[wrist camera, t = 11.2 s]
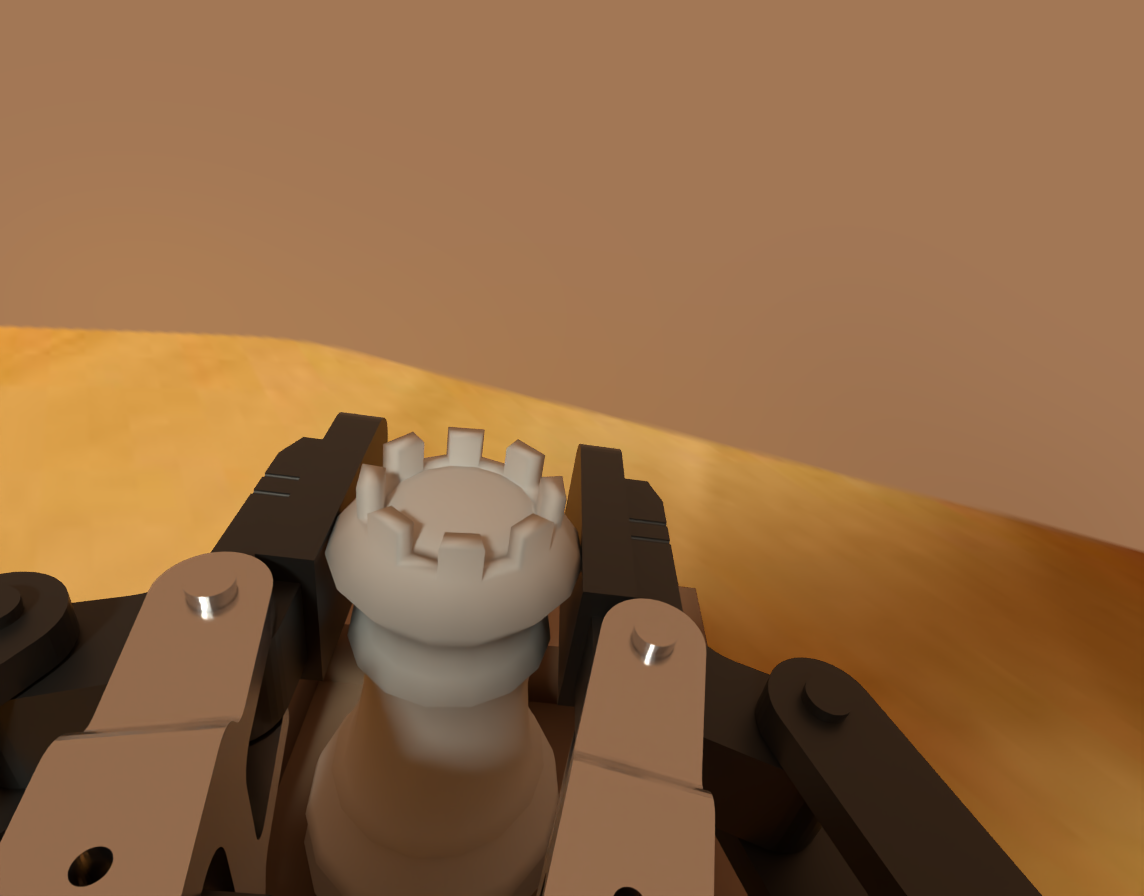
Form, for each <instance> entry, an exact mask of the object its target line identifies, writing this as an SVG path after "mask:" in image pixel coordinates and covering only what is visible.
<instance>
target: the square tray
mask: <svg viewBox="0 0 1144 896" xmlns="http://www.w3.org/2000/svg"><path fill="white" fill-rule="evenodd" d="M678 587H679V586H678ZM679 592H680V598H681V603H682V608H683V612H684V613H685V614H686V615H687V616H688V617H690V618H691V619H692V621H693V622H694V623H695V624H696V625H697V627H698V628H699V629H700V631H701V633H702V635H703V637H704V640H705V644H706V645H707V641H706V636H705V631H704V626H703V622H702V617H701V612H700V607H699V603H698V598H697V593H696V588H688V587H679ZM353 606H354V604H353V603H352V606H351V608H350V611H349V613H348V616H347V619H346V621H345V624H344V627H343V629H342V632H341V635H340V637H339V640H338V643H337V645H336V648H335V651H334V653H333V656H332V658H331V661H330V664H329V666H328V669H327V672H326V674H325V677H324V680H323V681H315V680H305V679H300V680H299V682H298V684H297V687H296V689H295V692H294V694H293V697H292V699H291V701H290V704H289V706H288V711H289V724H288V730H287V736H286V742H285V748H284V754H283V760H282V766H281V772H280V778H279V784H278V790H277V796H276V802H275V808H274V814H273V820H272V826H271V832H270V838H269V844H268V851H267V860H266V889H265V894H267V895H272V896H317V895H316V894H315V892H314V887H313V883H312V878H311V873H310V868H309V863H308V859H307V854H306V849H305V844H304V840H305V836H306V831H307V826H308V823H307V818H306V809H307V805H308V800H309V796H310V791H311V787H312V782H313V777H314V773H315V768H316V764H317V762H318V760H319V757H320V755H321V753H322V751H323V750H324V748H325V747H326V745H327V744H328V742H329V741H330V740H331V738H332V737H333V735H334V734H335V732H336V731H337V729H338V728H339V726H340V725H341V723H342V722H343V720H344V719H345V717H346V716H347V715H348V714H349V713H351V712H352V711H353V709H354V708H355V706H356V705H357V703H358V702H359V700H360V697H361V692H362V687H363V682H364V672H363V671H362V670H361V669H360V668H359V667H358V666H357V663H356V660H355V657H354V654H353V651H352V648H351V645H350V642H349V639H348V636H347V634H348V630H349V625H350V620H351V616H352V611H353ZM559 612H560V605H559V606H558V607H557V608H555V609H554V610H553V611H552V612H550V613H549V614H548V619H549V628H550V637H551V639H550V642H549V644H548V647H547V649H546V651H545V654H544V656H543V659H542V661H541V663H540V666H539V668H538V669H537V670H536V671H535V672H534V673H533V674H531V675H530V676H529V679H528V707H529V709H530V710H531V712H532V714H534V716H535V718H536V720H537V722H538V724H539V726H540V727H541V729H542V731H543V733H544V735H545V737H546V739H547V740H548V742H549V744H550V746H551V748H552V750H553V753H554V758H555V763H556V773H557V783H558V794H560V790H561V785H562V781H563V777H564V772H565V768H566V763H567V759H568V755H569V750H570V746H571V742H572V738H573V734H574V731H575V707H571V706H561V705H557V698H558V655H559ZM707 646H708V645H707ZM537 891H538V888H537V889H536V890H535V891H534V893H533V894H532V895H531V896H536V895H537ZM714 896H748V895H747V893H746V891H745V889H744V888H743V886H742V884H741V882H740V880H739V878H738V876H737V875H736V873H735V871H734V869H733V867H732V865H731V864H730V862H729V860H728V858H727V856H726V854H725V853H724V851H723V849H722V847H721V845H720V843H719V842H718V840H717V838H716V836H715V855H714Z"/></svg>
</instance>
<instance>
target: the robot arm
mask: <svg viewBox="0 0 1144 896" xmlns="http://www.w3.org/2000/svg"><path fill="white" fill-rule="evenodd" d="M387 441H388V430H387V421H386V419H385V418H381V417H374V416H366V415H358V414H351V413H343V412H340V413H339V414H338V415H337V416H336V418H335V420H334V421H333V423H332V425H331V427H330V428H329V430H328V432H327V433H326V435H325V437H324V438H323V439H315V438H307V437H303V438H301V439H300V440H298V441H296V442H295V443H293V444H292V445H290V446H288V447H287V448H285V449H284V450H282V451H281V452H279V453H278V454H277V456H276V457H275V459H274V460H273V462H272V463H271V465H270V466H269V468H268V469H267V471H266V472H265V477H262V478H261V479H260V481H259V482H258V484H257V485H256V487H255V488H254V493H253V494H250V496H249V497H248V499H247V500H246V501H245V503H244V504H243V506H242V507H241V509H240V510H239V512H238V513H237V515H236V516H235V518H234V519H233V521H232V522H231V524H230V525H229V526H228V528H227V529H226V531H225V532H224V534H223V535H222V537H221V538H220V540H219V541H218V543H217V544H216V546H215V547H214V548H213V550H212V551H211V553H207V554H202V555H199V556H195V557H192V558H189V559H187V560H184V561H182V562H180V563H178V564H176V565H174V566H173V567H171V568H170V569H168V570H167V571H165V572H164V573H163V574H162V575H161V576H159V577H158V578H157V579H156V581H155V582H154V583H153V584H152V586H151V587H150V589H149V591H148V592H147V593H143V594H138V595H132V596H124V597H116V598H108V599H100V600H92V601H84V602H76V603H71V600H70V597H69V594H68V592H67V589H66V587H65V586H64V585H63V584H62V582H60V581H59V580H57V579H56V578H54V577H52V576H49V575H46V574H42V573H37V572H11V573H4V574H0V896H272V895H267V894H265V889H266V860H267V851H268V844H269V838H270V832H271V826H272V820H273V814H274V808H275V802H276V796H277V790H278V784H279V778H280V772H281V766H282V760H283V754H284V748H285V742H286V736H287V730H288V724H289V711H288V706H289V704H290V701H291V699H292V697H293V694H294V692H295V689H296V687H297V684H298V682H299V680H300V679H305V680H315V681H323V680H324V677H325V674H326V672H327V669H328V666H329V664H330V661H331V658H332V656H333V653H334V651H335V648H336V645H337V643H338V640H339V637H340V635H341V632H342V629H343V627H344V624H345V621H346V619H347V616H348V613H349V611H350V608H351V606H352V602H351V601H350V600H348V599H347V598H346V597H345V596H344V595H343V594H342V593H340V592H339V591H338V590H337V588H336V585H335V582H334V579H333V577H332V574H331V571H330V568H329V565H328V562H327V559H326V556H325V550H326V547H327V543H328V540H329V537H330V534H331V531H332V529H333V526H334V524H335V521H336V519H337V517H338V516H339V515H340V514H341V513H342V511H343V510H344V509H345V508H346V507H347V506H348V505H349V504H350V503H351V502H352V501H353V500H354V499H355V498H356V486H357V482H358V479H359V475H360V471H361V467H362V464H368V465H374V466H379V467H383V444H385V443H387ZM565 515H566V516H567V518H568V519H569V520H570V522H571V523H572V524H573V526H574V527H575V528H576V529H577V531H578V534H579V540H580V545H581V572H580V574H579V576H578V579H577V581H576V584H575V586H574V589H573V591H572V593H571V596H570V597H569V598H568V599H566V600H565V601H564V602H563V603H562V604H560V612H559V655H558V698H557V705H561V706H571V707H575V731H574V734H573V738H572V742H571V746H570V750H569V755H568V759H567V763H566V768H565V772H564V777H563V781H562V785H561V790H560V794H559V799H558V803H557V808H556V812H555V816H554V821H553V825H552V830H551V834H550V838H549V843H548V847H547V852H546V856H545V861H544V865H543V869H542V874H541V878H540V882H539V886H538V891H537V895H536V896H714V855H715V836H716V838H717V840H718V842H719V843H720V845H721V847H722V849H723V851H724V853H725V854H726V856H727V858H728V860H729V862H730V864H731V865H732V867H733V869H734V871H735V873H736V875H737V876H738V878H739V880H740V882H741V884H742V886H743V888H744V889H745V891H746V893H747V895H748V896H1042V895H1041V894H1040V893H1039V891H1038V890H1037V889H1036V888H1035V887H1034V886H1033V884H1032V883H1031V882H1030V881H1029V880H1028V879H1027V877H1026V876H1025V875H1024V874H1023V873H1022V872H1021V870H1020V869H1019V868H1018V867H1017V866H1016V865H1015V864H1014V862H1013V861H1012V860H1011V859H1010V858H1009V857H1008V855H1007V854H1006V853H1005V852H1004V851H1003V850H1002V848H1001V847H1000V846H999V845H998V844H997V843H996V841H995V840H994V839H993V838H992V837H991V836H990V834H989V833H988V832H987V831H986V830H985V829H984V827H983V826H982V825H981V824H980V823H979V822H978V820H977V819H976V818H975V817H974V816H973V815H972V813H971V812H970V811H969V810H968V809H967V808H966V806H965V805H964V804H963V803H962V802H961V801H960V799H959V798H958V797H957V796H956V795H955V794H954V792H953V791H952V790H951V789H950V788H949V787H948V785H947V784H946V783H945V782H944V781H943V780H942V779H941V777H940V776H939V775H938V774H937V773H936V772H935V770H934V769H933V768H932V767H931V766H930V765H929V763H928V762H927V761H926V760H925V759H924V758H923V756H922V755H921V754H920V753H919V752H918V751H917V749H916V748H915V747H914V746H913V745H912V744H911V742H910V741H909V740H908V739H907V738H906V737H905V735H904V734H903V733H902V732H901V731H900V730H899V728H898V727H897V726H896V725H895V724H894V723H893V721H892V720H891V719H890V718H889V717H888V716H887V714H886V713H885V712H884V711H883V710H882V709H881V707H880V706H879V705H878V704H877V703H876V702H875V700H874V699H873V698H872V697H871V696H870V695H869V693H868V692H867V691H866V690H865V689H864V688H863V687H862V686H861V685H860V684H859V683H858V682H857V681H856V680H855V679H853V678H852V677H851V676H850V675H848V674H847V673H845V672H844V671H842V670H840V669H839V668H837V667H835V666H833V665H831V664H828V663H826V662H823V661H820V660H816V659H811V658H792V659H788V660H785V661H783V662H781V663H780V664H778V665H777V666H776V667H775V668H774V669H773V670H772V672H771V674H770V675H769V674H766V673H764V672H761V671H758V670H756V669H753V668H750V667H748V666H745V665H743V664H740V663H737V662H735V661H732V660H730V659H728V658H726V657H724V656H722V655H720V654H718V653H717V652H715V651H714V650H712V649H711V648H709V647H708V646H707V645H706V644H705V640H704V637H703V635H702V633H701V631H700V629H699V628H698V627H697V625H696V624H695V623H694V622H693V621H692V619H691V618H690V617H688V616H687V615H686V614H685V613H684V612H683V608H682V603H681V598H680V592H679V587H678V582H677V576H676V571H675V565H674V560H673V555H672V549H671V545H670V544H669V541H670V539H669V533H668V528H667V527H666V517H665V512H664V506H663V501H662V500H661V499H660V497H659V496H658V495H657V494H656V492H655V491H654V490H653V488H652V487H651V486H650V484H649V483H648V482H647V481H639V480H632V479H625V478H624V469H623V460H622V452H621V450H620V449H614V448H606V447H599V446H591V445H583V444H579V446H578V449H577V453H576V458H575V463H574V469H573V474H572V479H571V484H570V490H569V495H568V500H567V506H566V511H565Z"/></svg>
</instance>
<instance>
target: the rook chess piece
mask: <svg viewBox="0 0 1144 896" xmlns="http://www.w3.org/2000/svg"><path fill="white" fill-rule="evenodd" d="M483 440H484V430H483V429H469V428H456V427H448V441H447V455H441V456H435V457H428V458H424V442H423V441H422V440H421V439H420V438H419V437H418V436H417V435H416V434H415V433H414V432H412V433H409V434H407V435H404V436H402V437H399V438H397V439H395V440H392V441H390V442H387V443H385V444H383V467H379V466H374V465H368V464H362V467H361V471H360V475H359V479H358V482H357V486H356V498H355V499H354V500H353V501H352V502H351V503H350V504H349V505H348V506H347V507H346V508H345V509H344V510H343V511H342V513H341V514H340V515H339V516H338V517H337V519H336V521H335V524H334V526H333V529H332V531H331V534H330V537H329V540H328V543H327V547H326V550H325V556H326V559H327V562H328V565H329V568H330V571H331V574H332V577H333V579H334V582H335V585H336V588H337V590H338V591H339V592H340V593H342V594H343V595H344V596H345V597H346V598H347V599H348V600H350V601H351V602H352V603H353V604H354V606H353V611H352V616H351V620H350V625H349V630H348V634H347V636H348V639H349V642H350V645H351V648H352V651H353V654H354V657H355V660H356V663H357V666H358V667H359V668H360V669H361V670H362V671H363V672H364V682H363V687H362V692H361V697H360V700H359V702H358V703H357V705H356V706H355V708H354V709H353V711H352V712H351V713H349V714H348V715H347V716H346V717H345V719H344V720H343V722H342V723H341V725H340V726H339V728H338V729H337V731H336V732H335V734H334V735H333V737H332V738H331V740H330V741H329V742H328V744H327V745H326V747H325V748H324V750H323V751H322V753H321V755H320V757H319V760H318V762H317V764H316V768H315V773H314V777H313V782H312V787H311V791H310V796H309V800H308V805H307V809H306V818H307V823H308V826H307V831H306V836H305V840H304V844H305V849H306V854H307V859H308V863H309V868H310V873H311V878H312V883H313V887H314V892H315V894H316V895H317V896H531V895H532V894H533V893H534V891H535V890H536V889H537V888H538V886H539V882H540V878H541V874H542V869H543V865H544V861H545V856H546V852H547V847H548V843H549V838H550V834H551V830H552V825H553V821H554V816H555V812H556V808H557V803H558V799H559V794H558V783H557V773H556V763H555V758H554V753H553V750H552V748H551V746H550V744H549V742H548V740H547V739H546V737H545V735H544V733H543V731H542V729H541V727H540V726H539V724H538V722H537V720H536V718H535V716H534V714H532V712H531V710H530V709H529V707H528V679H529V676H530V675H531V674H533V673H534V672H535V671H536V670H537V669H538V668H539V666H540V663H541V661H542V659H543V656H544V654H545V651H546V649H547V647H548V644H549V642H550V639H551V637H550V628H549V619H548V614H549V613H550V612H552V611H553V610H554V609H555V608H557V607H558V606H559V605H560V604H562V603H563V602H564V601H565V600H566V599H568V598H569V597H570V596H571V593H572V591H573V589H574V586H575V584H576V581H577V579H578V576H579V574H580V572H581V545H580V540H579V534H578V531H577V529H576V528H575V527H574V526H573V524H572V523H571V522H570V520H569V519H568V518H567V516H566V515H565V514H564V509H565V504H566V495H565V489H564V483H563V477H562V476H555V477H542V471H543V465H544V459H545V455H544V454H542V453H540V452H539V451H537V450H535V449H534V448H532V447H530V446H528V445H527V444H525V443H523V442H522V441H520V440H516V441H515V442H514V443H513V444H511V445H510V446H509V447H508V448H507V450H506V458H505V464H504V463H500V462H497V461H494V460H490V459H487V458H484V457H482V450H483Z"/></svg>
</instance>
